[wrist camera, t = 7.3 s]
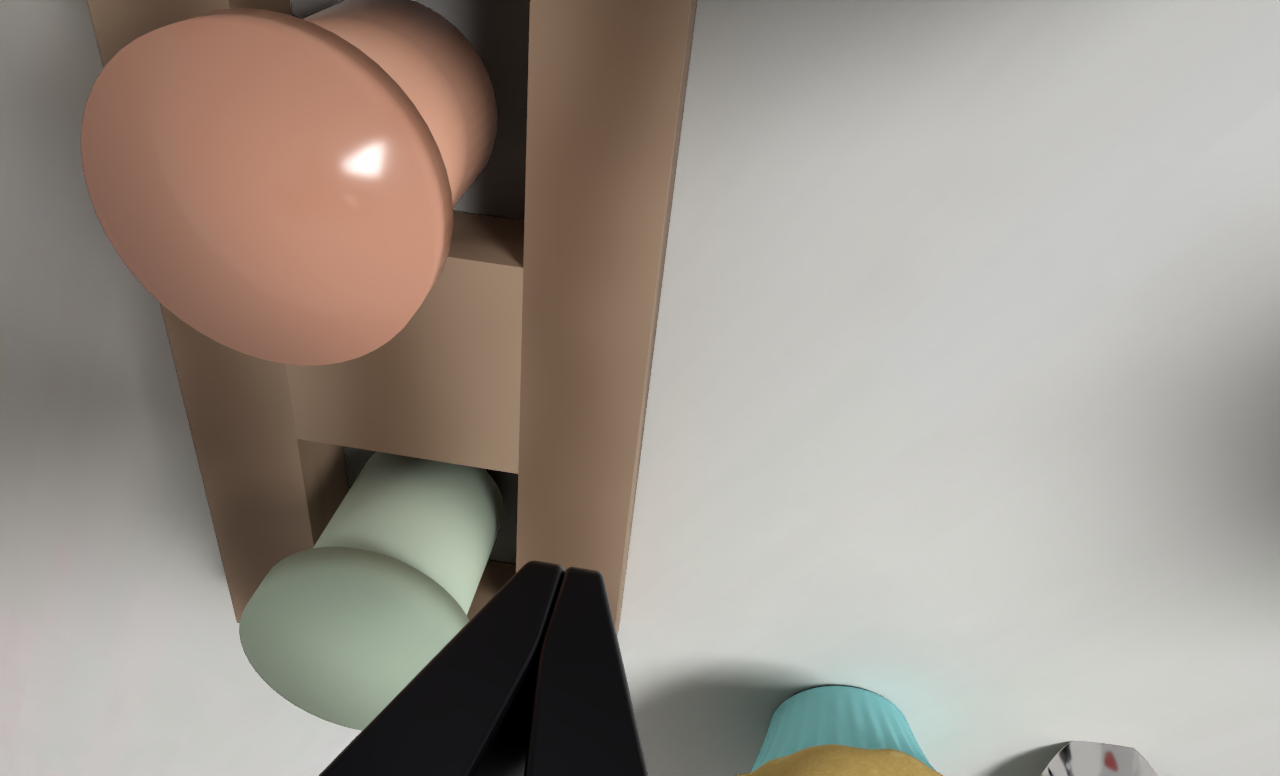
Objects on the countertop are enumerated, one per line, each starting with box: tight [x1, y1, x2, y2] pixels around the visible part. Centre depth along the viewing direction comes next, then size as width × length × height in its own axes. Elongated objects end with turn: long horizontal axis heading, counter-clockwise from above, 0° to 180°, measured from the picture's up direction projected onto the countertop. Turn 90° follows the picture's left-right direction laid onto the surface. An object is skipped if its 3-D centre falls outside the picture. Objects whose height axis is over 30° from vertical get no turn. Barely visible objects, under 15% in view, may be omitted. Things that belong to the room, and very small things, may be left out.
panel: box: [87, 0, 697, 634], centre depth 22 cm, size 12×22×2 cm, turn 174°
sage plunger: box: [239, 452, 504, 730], centre depth 24 cm, size 6×6×6 cm
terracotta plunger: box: [81, 0, 498, 366], centre depth 16 cm, size 6×6×6 cm
